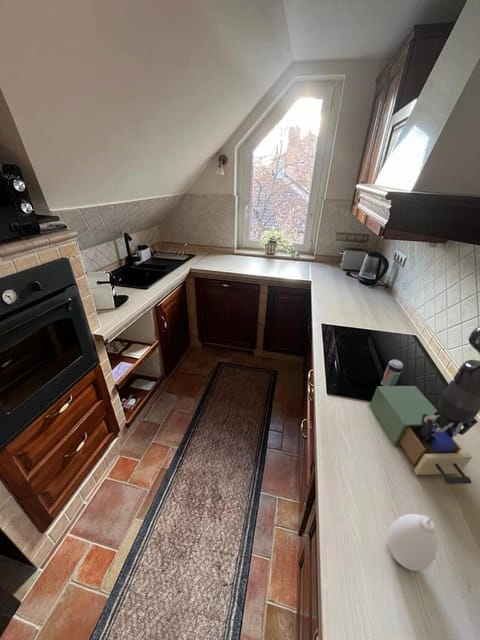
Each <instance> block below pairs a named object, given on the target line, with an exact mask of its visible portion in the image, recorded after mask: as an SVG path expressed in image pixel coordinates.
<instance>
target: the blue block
mask: <svg viewBox="0 0 480 640" xmlns="http://www.w3.org/2000/svg"><path fill="white" fill-rule="evenodd" d="M439 427H440V426H439ZM440 428H441V427H440ZM432 430H433V431H435V428H434V427H433V428H432ZM420 433H421V434H422V436H424V434H425V432H424V431H423V429H421V431H420ZM429 445H430V446H431V448H432V449H433V450H434V452H435V453H445V452H451V451H452V450H453V448H454V447H455V445H456V444H455V443H454V441H453V440H452V439H451V438H450V437H449V436H448V434H447V433H446V432H445V431H444V432H443V433H441V432H440V433H439V434H438V435H437V436H436V437H435V438H434V440H433V442H432V443H431V444H429Z"/></svg>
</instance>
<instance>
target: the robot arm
mask: <svg viewBox="0 0 480 640" xmlns="http://www.w3.org/2000/svg"><path fill="white" fill-rule="evenodd" d="M468 342H469V345H470V346H471V347H472V349H474V350H475V351H476V352H477V353H478V354H479V355H480V325H479V326H477V327H475V328H474V329H473V330H472V332H470V334H469V335H468ZM479 412H480V360H477V359H468V360H465V361H464V362H463V363H461V365H460V367H459V368H458V370H457V371H456V374H455V375H454V377H453V378H452V379H451V381H450V382H449V383H448V384H447V386H446V388H445V389H444V392H443V393H442V394H441V396H440V398H439V400H438V402H437V412H435V413H434V415H432V416H428V415H427V414H424V415H423V416H422V422H421V428H422V429H423V431H424V432H425V434H424V436H423V439H424V440H425V442H426V443H427V444H431V443H432V442H433V440H434V438H435V437H436V436H437V435H438V434H439V433H440V432H441V433H443V432H444V431H445V432H446V433H447V434H448V436H449V437H450V438H451V439H452V438H453V439H454V437H457V436H458V435H460V436H463V435H465V434H466V433H467V432H468V431H469V430H470V429H471V428H472V427H474V426H475V425H476V424H477V423H479V421H478V420H477V419H476V417H477V416H478V414H479ZM439 426H440V427H441V428H440V427H439ZM433 427H434V428H435V431H433V430H432V428H433ZM462 427H463V428H462Z"/></svg>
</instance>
